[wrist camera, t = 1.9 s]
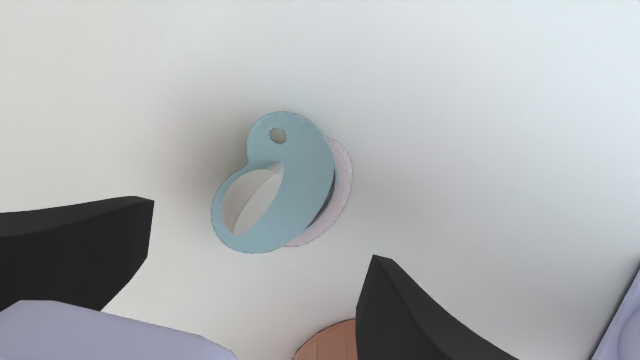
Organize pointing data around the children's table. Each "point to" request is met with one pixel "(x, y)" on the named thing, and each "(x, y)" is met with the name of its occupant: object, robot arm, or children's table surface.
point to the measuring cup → (331, 344)
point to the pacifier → (282, 188)
